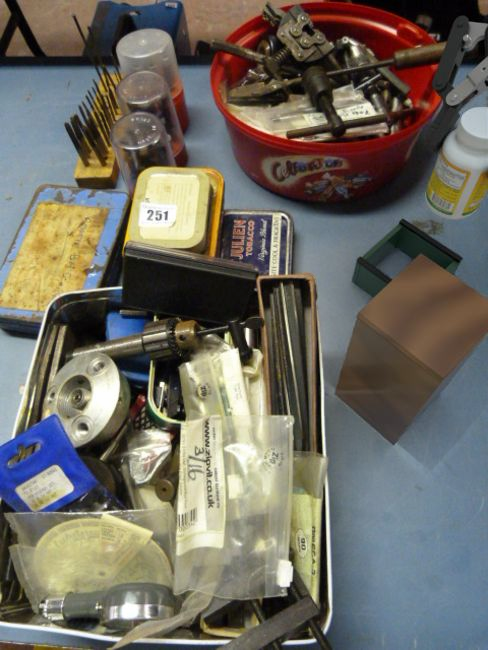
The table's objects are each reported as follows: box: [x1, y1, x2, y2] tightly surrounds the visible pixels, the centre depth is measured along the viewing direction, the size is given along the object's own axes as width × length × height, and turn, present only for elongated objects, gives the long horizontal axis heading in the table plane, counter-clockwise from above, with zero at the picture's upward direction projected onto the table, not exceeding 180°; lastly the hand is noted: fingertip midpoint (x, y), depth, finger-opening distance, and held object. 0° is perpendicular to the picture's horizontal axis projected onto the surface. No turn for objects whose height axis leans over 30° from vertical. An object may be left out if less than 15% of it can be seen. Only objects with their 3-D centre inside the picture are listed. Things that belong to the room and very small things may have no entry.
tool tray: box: [351, 217, 464, 298], centre depth 75 cm, size 11×11×6 cm
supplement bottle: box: [424, 106, 488, 220], centre depth 47 cm, size 5×5×10 cm
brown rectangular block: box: [334, 254, 488, 446], centre depth 59 cm, size 10×10×22 cm
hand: (461, 164), depth 45 cm, fingers closed on supplement bottle, 5 cm apart
